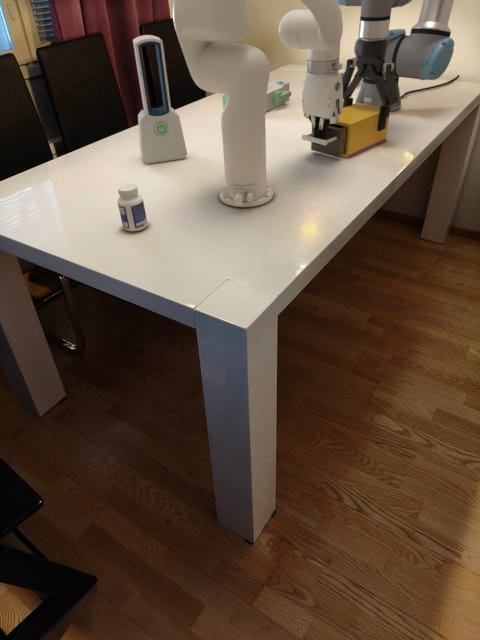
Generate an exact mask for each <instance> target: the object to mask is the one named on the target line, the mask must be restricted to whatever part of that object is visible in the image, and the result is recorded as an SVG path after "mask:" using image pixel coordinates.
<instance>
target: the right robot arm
mask: <svg viewBox="0 0 480 640" xmlns="http://www.w3.org/2000/svg"><path fill="white" fill-rule="evenodd" d="M411 2H413V0H338V3H339V6H344V7H360V17H359V25H358V26H359V27H358V35H357V36H358V38H361V39H360V40H359V41H358V47H357V55H358V58H357V59H355V57H351V58H348V59H347V60H346V66H345V71H344V72H345V73H344V72H343V73H344V76H343V79H342V83H343V108H344V107H347V106H350V105H353V104H354V97H353V94H354V92H355V91H356V89H357V88H358V86H359V85H360V84H361V81H362V84H361V87H360V89H359V92H358V93H357V97H356V100H355V103H362V104H368V105H373V106H379V107H380V113H379V121H378V130H377V131H381V130H383V129H385V126H386V118H388V117H389V118H390V113H395V112H398V111H399V110H400V109H401V107H402V99H403V98H404V97H406V95H408V94H412V93H417V92H423V91H427V90H432V89H437V88H440V87H443V86H446V85H449V84H452V82H454V81H456V80H457V79H458V78H459V77H460V74H458V75H457V76H455V77H454V78H452V79H450V80H448V81H446V82H443V83H440V84H436V85H432V86H427V87H422V88H418V89H413V90H409V91H406V92H404V93H403V94H402V95H401V92H400V85H399V80H400V78H405V79H413V80H414V79H415V80H421V81H436V80H438V79H439V78H441V77H442V76H443V74H444V73H445V72H446V70H447V69H448V67H449V65H450V63H451V60H452V58H453V54H454V47H455V40H454V38H452V37H451V33H452V31H451V29H450V26H449V21H450V18H451V13H452V10H453V6H454V2H455V0H423V1H422V4H421V9H420V13H419V16H418V21H417V23H416V24H414V25H413V26H412V27H411V28H410V33H409V34H408V35H407V31H406V29H405V28H396V29H390V24H391V14H392V9H394V8H402V7H405V6H406V5H408V4H410V3H411ZM355 69H357V71H356V72H355ZM354 72H355V74H354ZM353 76H354V77H353ZM352 77H353V78H352Z"/></svg>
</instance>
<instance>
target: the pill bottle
mask: <svg viewBox="0 0 480 640" xmlns="http://www.w3.org/2000/svg"><path fill="white" fill-rule="evenodd" d="M117 193H118V196H119V197H118V199H117V206H118V210H119V211H118V212H119V215H120V219H121V224H122V227H123V229H124V230H125V231H128V232H138V231H141V230H144V229H146V227H147V226H148V217H147V214H146V208H145V203H144V198H143V196H142V195H141V194H139V188H138V185H137V184H135V183H132V182H131V183H123V184H121V185H119V186H118V187H117Z"/></svg>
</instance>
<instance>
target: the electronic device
mask: <svg viewBox="0 0 480 640" xmlns="http://www.w3.org/2000/svg"><path fill="white" fill-rule="evenodd" d="M163 42H164V41H163V40H162V39H161V38H160V37H159V36H155V35H152V34H143V35H139V36H137V37H135V38H133V39H132V45H133V50H134V57H135V64H136V70H137V77H138V82H139V88H140V93H141V94H140V95H141V100H142V108H143V109H141V110H140V111H139V113H138V114H137V123H138V125H137V126H138V139H139V151H140V152H139V153H140V155H141V159H142V160H143V161H144V162H145V163H146V164H148V165H149V164H154V163H162V162H163V163H164V162H170V161H177V160H183V159H185V158H186V157H187V154H188V151H187V146H186V142H185V137H184V132H183V128H182V124H181V123H182V122H181V118H180V115H179V114H178V112H177V111H176V110H175V109H174V108H173V107H172V104H171V97H170V96H171V95H170V87H169V80H168V73H167V65H166V64H167V63H166V58H165V49H164V43H163ZM146 45H155V52H156V60H157V65H158V66H157V68H158V74H159V83H160V89H161V98H162V104H163V105H161V106H160V107H151V106H150V105H151V104H150V99H149V92H148V86H147V79H146V71H145V67H144V66H145V65H144V60H143V59H144V58H143V53H142V47H143V46H146Z"/></svg>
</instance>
